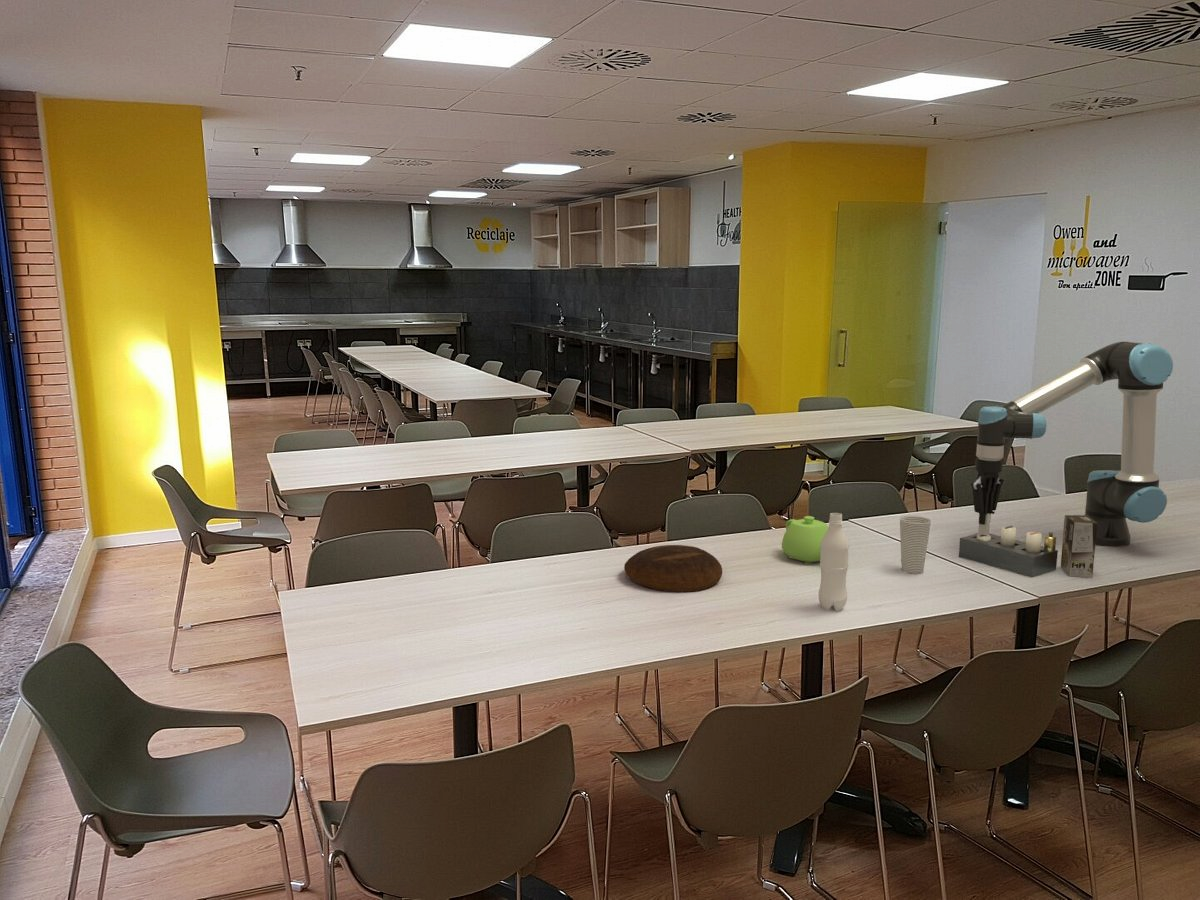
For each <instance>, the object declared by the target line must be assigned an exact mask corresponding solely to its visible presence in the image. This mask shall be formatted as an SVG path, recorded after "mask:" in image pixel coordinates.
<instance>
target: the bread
mask: <svg viewBox="0 0 1200 900" xmlns="http://www.w3.org/2000/svg"><path fill="white" fill-rule="evenodd" d="M623 568H624V572H625V574H626V576H627V577H629V579H631V580H632V581H633V582H635V583H636V584H638V585H640V586H643V587H646V586H647V587H646V588H649V587H650V589H653V588H654V589H653V590H657V589H658V590H657V591H662V590H666V592H679V591H686V592H696V591H702V590H705V588H706V589H707V588H710V587H712V586H715V585H716V584H717V583H718V582H719V581H720V580H721V579H722V576H723V566H722V564H721V563H720V561H719V560H718V559H717V558H716V557H715V556H714V555H713V554H711V553H710V552H708V551H706V550H704V549H702V548H700V547H696V546H692V545H685V544H684V545H683V544H666V545H663V544H662V545H656V546H652V547H648V548H645V549H643V550H640V551H638V552H636V553H634V554H633V555H632V556H631V557H630V558H628V559H627V560H626V562H625V563H624V567H623Z"/></svg>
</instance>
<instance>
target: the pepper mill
mask: <svg viewBox="0 0 1200 900" xmlns="http://www.w3.org/2000/svg"><path fill="white" fill-rule="evenodd" d="M1043 540H1044V542H1043V547H1044V550H1045V551H1050V552H1053V551H1055V550H1056V544H1057V536H1055V535H1054V534H1053V532H1052V531H1049V532H1048V535H1044V539H1043Z"/></svg>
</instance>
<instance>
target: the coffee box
mask: <svg viewBox="0 0 1200 900" xmlns="http://www.w3.org/2000/svg"><path fill="white" fill-rule="evenodd" d="M1097 525H1098V523H1097V522H1096V521H1094V520H1093V519H1091V518H1090V517H1088V516H1085V514H1084V515H1083V514H1079V515H1077V514H1075V515H1074V514H1073V515H1071V514H1069V515H1068V514H1065V515H1064V520H1063V533H1062V547H1061V558H1060V568H1061V569H1062V571H1063V572H1065V573H1066V574H1067V575H1068V576H1069V577H1078V578H1090V577H1091V578H1093V575H1094V573H1093V572H1094V564H1095V553H1096V535H1097Z"/></svg>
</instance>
